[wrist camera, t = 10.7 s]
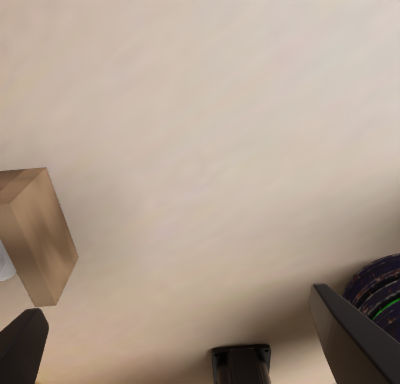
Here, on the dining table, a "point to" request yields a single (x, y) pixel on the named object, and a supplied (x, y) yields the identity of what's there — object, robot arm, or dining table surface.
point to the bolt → (5, 264)
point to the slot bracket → (36, 234)
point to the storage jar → (378, 293)
